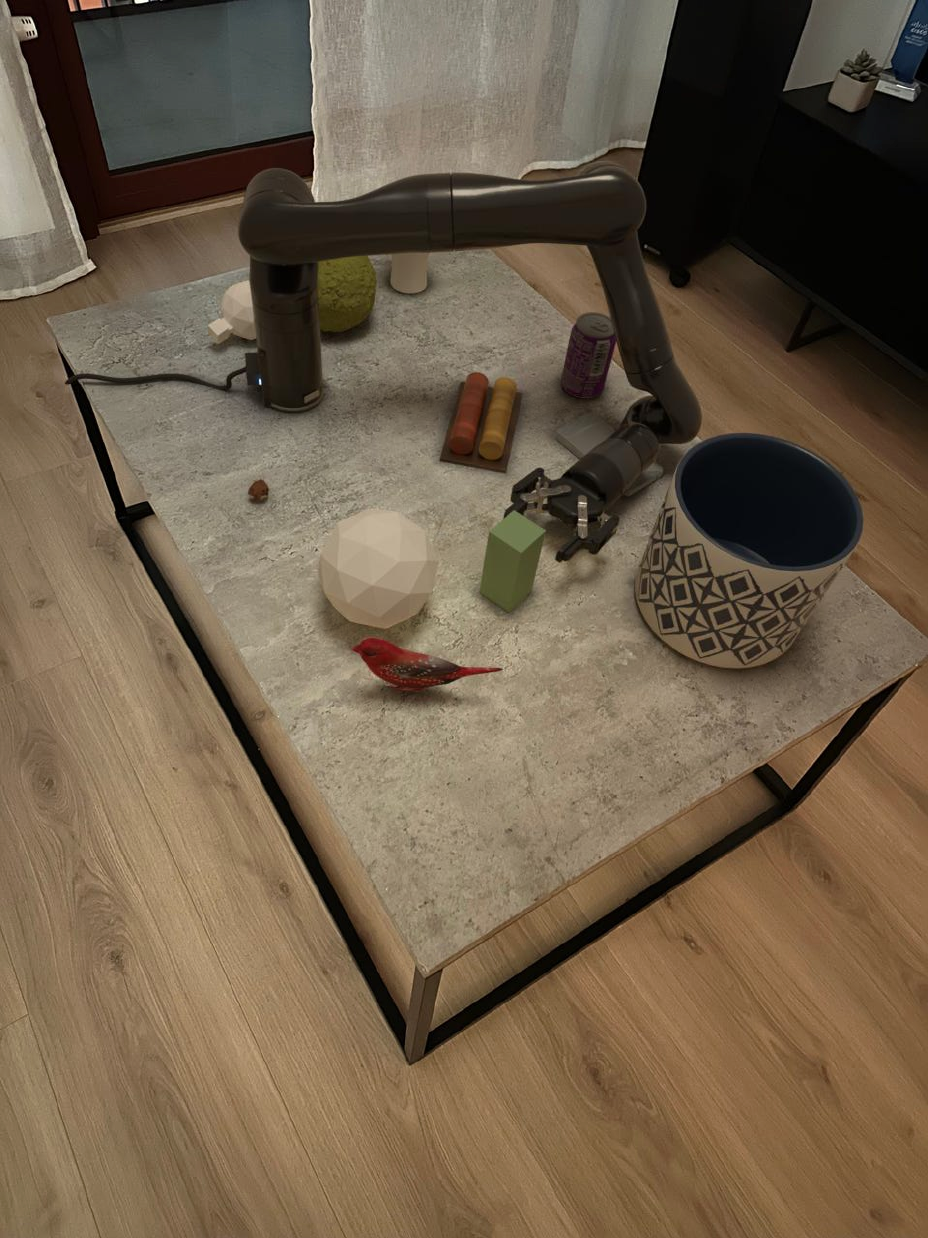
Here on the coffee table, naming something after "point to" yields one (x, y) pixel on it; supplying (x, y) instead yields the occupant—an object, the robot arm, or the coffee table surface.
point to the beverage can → (588, 355)
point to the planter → (745, 548)
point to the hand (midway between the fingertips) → (531, 539)
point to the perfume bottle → (235, 314)
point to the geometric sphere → (377, 568)
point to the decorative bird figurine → (411, 666)
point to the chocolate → (258, 489)
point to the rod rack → (482, 423)
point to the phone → (593, 432)
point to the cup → (409, 272)
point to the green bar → (511, 560)
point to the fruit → (345, 292)
